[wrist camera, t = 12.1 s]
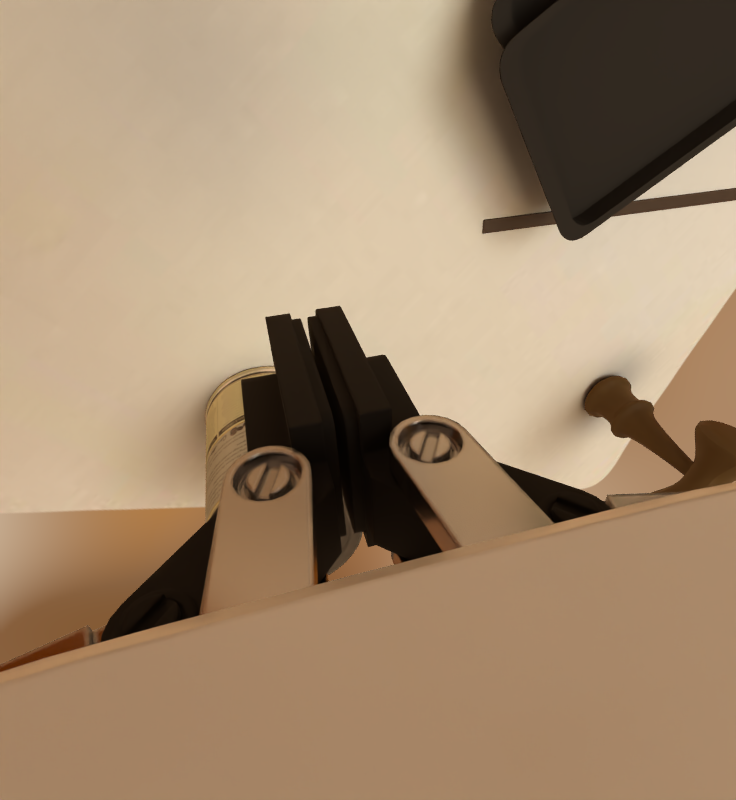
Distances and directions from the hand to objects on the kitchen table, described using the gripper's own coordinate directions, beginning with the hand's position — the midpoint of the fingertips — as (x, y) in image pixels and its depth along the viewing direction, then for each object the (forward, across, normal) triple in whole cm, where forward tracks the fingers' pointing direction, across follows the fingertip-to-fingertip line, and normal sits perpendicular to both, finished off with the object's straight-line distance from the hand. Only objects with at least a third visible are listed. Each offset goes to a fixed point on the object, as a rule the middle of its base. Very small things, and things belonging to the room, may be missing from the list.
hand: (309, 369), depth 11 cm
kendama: (+25, -33, +26) cm, 49 cm away
